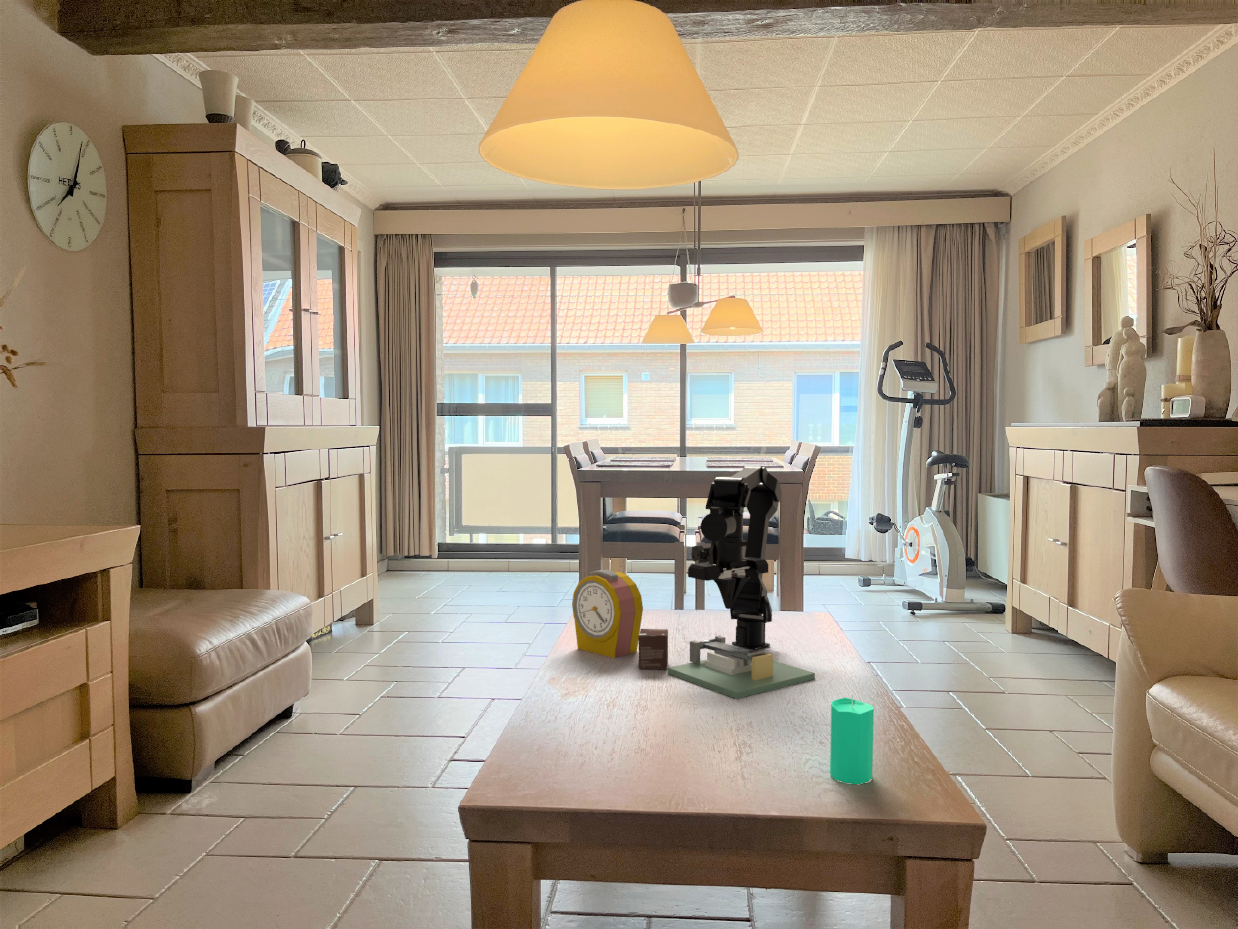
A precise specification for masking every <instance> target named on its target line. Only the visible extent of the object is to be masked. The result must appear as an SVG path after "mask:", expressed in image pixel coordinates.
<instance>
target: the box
mask: <svg viewBox="0 0 1238 929" xmlns="http://www.w3.org/2000/svg"><path fill="white" fill-rule="evenodd" d="M638 639H639V640H638V669H639V670H667V671H668V663H669V630H668V629H667V628H666V629H664V628H663V629H661V628H659V629H657V628H640V633H639V637H638Z"/></svg>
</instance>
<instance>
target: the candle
mask: <svg viewBox="0 0 1238 929" xmlns="http://www.w3.org/2000/svg"><path fill="white" fill-rule="evenodd" d="M830 702H831V703H830V746H829V747H830V751H829V752H830V756H829V775H830V774H831V775H830V778H832V777H833V778H834V779H833V778H832V779H833V780H835V779H836V780H839V781H842V782H845V783H852V784H861V783H865V782H868V781H869V780H870V779H872V780H873V762H874V760H873V759H874V758H873V756H874V712H875V711H874V710H875V709H874V707H873V705H872V704H869V703H866V702H863V701H861V700H858V699H854V695H853V694H851V698H849V697H842V698H837V699H834V700H832V701H830ZM836 780H835V781H836ZM845 783H844V784H845Z"/></svg>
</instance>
